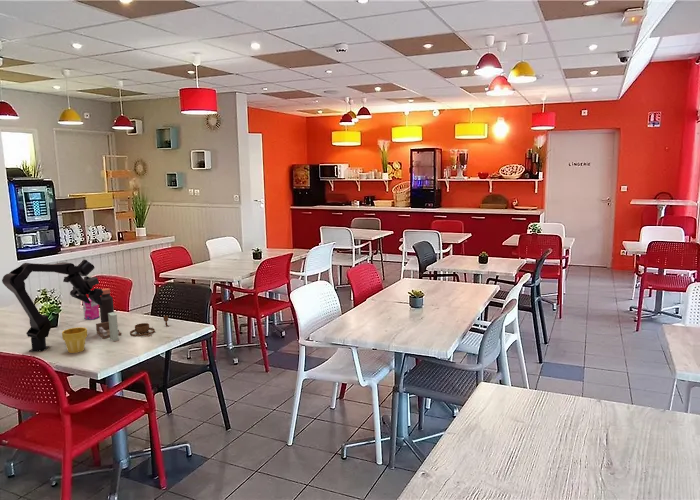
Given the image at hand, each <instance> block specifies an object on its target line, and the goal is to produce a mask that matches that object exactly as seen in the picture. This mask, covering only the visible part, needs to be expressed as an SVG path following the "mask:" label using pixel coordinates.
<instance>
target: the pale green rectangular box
mask: <svg viewBox="0 0 700 500" xmlns="http://www.w3.org/2000/svg"><path fill="white" fill-rule="evenodd" d="M108 318H109V329H110V340H111V341H112V342H117V341H119V340H120V339H119V337H120V336H118V329H119V327H118V315H117V313H115V311H114V312H112V313H108Z"/></svg>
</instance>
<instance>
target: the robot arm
mask: <svg viewBox="0 0 700 500" xmlns="http://www.w3.org/2000/svg"><path fill="white" fill-rule="evenodd" d="M94 270H95V266H94V264H92V262H89V260H88V259H82V261H81V262H80V263H79V264H78V265H75V264H74V263H72V262H64V261H62V262H57V263H31V262H24V263H22V264H21V265H20V266H18V267H16V268H15V269H12V270H11V271H10V272H8V273H6V274H4V275H3V277H2V279H1V283H2V284H3V285H4V286H5V287H6V288H7V289H8V290H9V291H11V292H12V293H13V294H14V296H15V298H16V299H17V301H18V302H19V304H20V305H21V307H22V309H23V310H24V312H25V313H26V315H27V316H28V318H29V326H30V327H29V329H28V330H27V332H26V336H27V337H28V338H30V341H31V349H29V350H28V352H29V353H30V352H44V351H46V350H47V349H48V348H50V345H47V338H48V337H49V334H50V331H51V328H52V321H50V318H49V316H48V315H45V314H41V313H40V311H39V309H38V308H37V306H36V305H35V302H34V301H33V300H32V298H31V296H30V295H29V294H28V292H27V290H26V283H25V280H27V279H28V277H29V276H30V274H31V273H32V272H39V273H41V272H42V273H58V274H63V275H66V276H64V277H63V283H67V284H68V283H70V284H71V286H72V287H71V288H72V289H71V290H70V292H69V295H70V296H71V297H72V298H74V299H77V300H80V301H82V303H83V302H86V303H88V304H90V301H89V299H91V301H93V302H95V303H96V304H98V306H99V305H100V306H101V305H102V301H101V295H102V294H103V290H102V289H103V288H94V287H95V286H96V285H99V284H100V282H99V279H98V277H96V276H89V274H90V273H92V271H94ZM92 289H93V290H92ZM88 298H89V299H88ZM100 306H99V307H100Z"/></svg>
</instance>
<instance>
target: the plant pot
mask: <svg viewBox="0 0 700 500" xmlns="http://www.w3.org/2000/svg"><path fill="white" fill-rule="evenodd" d="M61 335H62V337H61V338H62V340H63V341H64V343H65V346H66V349H67V352H68V353H70V354H77V353H81V352H83V351H85V345H86V338H87V337H88V329H87V327H82V326H80V327H78V326H77V327H71V328H68V329H67V328H66V329H64V330H63V331H62V332H61Z"/></svg>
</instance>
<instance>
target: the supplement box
mask: <svg viewBox="0 0 700 500" xmlns="http://www.w3.org/2000/svg"><path fill="white" fill-rule="evenodd" d="M88 299H89V297H88ZM89 301H90V304H88V303H86V302H83V301H82V309H83V318H84V320H90V321H92V320H95V319H99V318H100V306H99V305H98V304H96V303H95V302H93V301H91V299H89Z"/></svg>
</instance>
